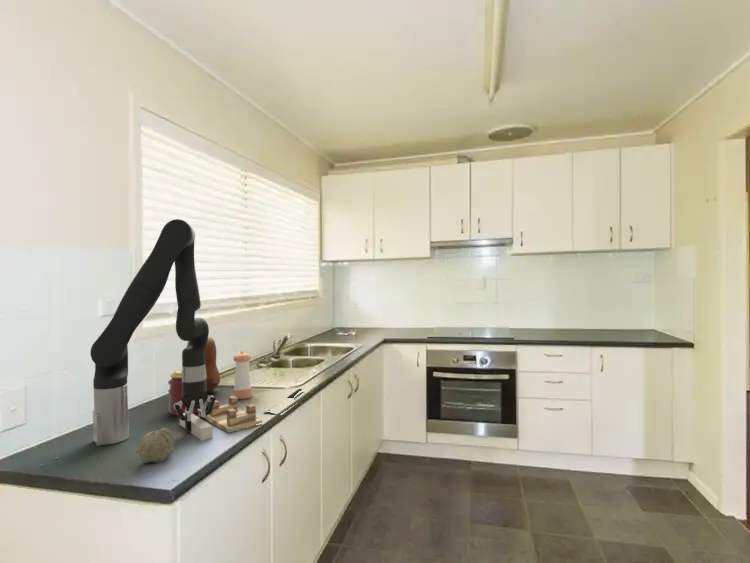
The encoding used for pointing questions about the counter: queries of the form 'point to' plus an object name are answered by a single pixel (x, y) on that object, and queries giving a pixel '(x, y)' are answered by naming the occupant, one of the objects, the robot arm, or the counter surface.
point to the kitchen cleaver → (287, 397)
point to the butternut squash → (211, 365)
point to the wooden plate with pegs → (233, 416)
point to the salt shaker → (242, 376)
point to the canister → (177, 392)
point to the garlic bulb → (156, 446)
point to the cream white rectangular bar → (199, 427)
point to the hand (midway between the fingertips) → (195, 429)
